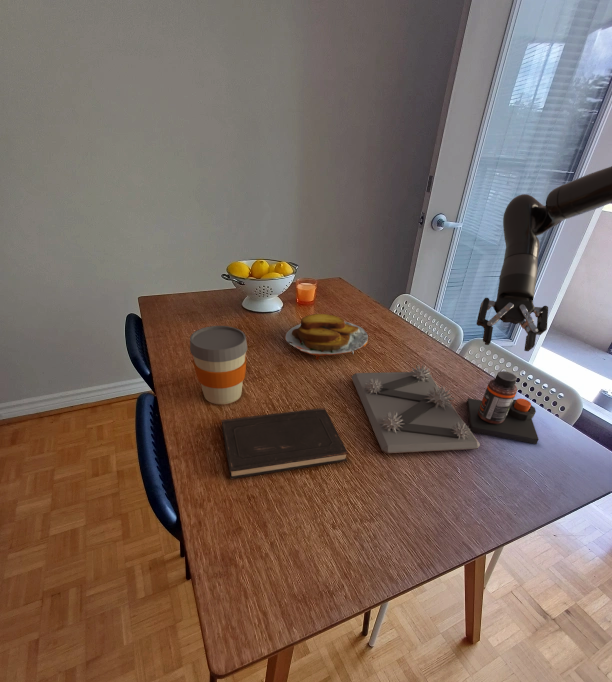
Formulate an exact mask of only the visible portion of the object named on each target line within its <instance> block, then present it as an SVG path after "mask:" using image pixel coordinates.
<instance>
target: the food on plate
mask: <svg viewBox="0 0 612 682" xmlns="http://www.w3.org/2000/svg"><path fill="white" fill-rule="evenodd" d="M369 337H370V335H368V332H367V331H366V330H365V328H363V327H361V326H359V325H358V324H355V323H352V322H348V321H345V319H344V318H342V317H339V316H337V315H334V314H328V313H314V314H309V315H305V316H303V317H302V318H301V319H300V323H299V324H296V325H294V326H292V327H291V328H289V330H288V331H287V332H286V333H285V334H284V340H285V342H287V343H288V344H289V345H291V346H293V347H294V348H295V349H297V350H299V351H300V352H301V353H306V354H307V355H308V354H309V356H311V355H312V356H315V360H317V361H319V359H320V357H321V356H322V357H325V356H335V355H338V356H339V355H340V354H341V355H344V354H348V353H352V355H354V352H355V351H357V350H360V349H362V348H363V347H366V346H367V345H368V341H369V340H370V339H369ZM291 352H292V353H293V352H294V351H293V350H291Z"/></svg>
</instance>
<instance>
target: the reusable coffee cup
mask: <svg viewBox="0 0 612 682" xmlns="http://www.w3.org/2000/svg"><path fill="white" fill-rule="evenodd" d="M189 351H190V354H191V355H192V358H193V359H192V365H193V368H194V371H195V375H196V378H197V381H198V383H199V384H200V387H201V389H202V394H203V398H204V399H205V401H208V402H209V403H211V404H215V405H228V404H232V403H235V402H236V401H238V400H239V399H240V398H241V397H242V393H243V383H244V380H245V378H246V371H247V359H248V358H247V356H246V353H247V351H248V342H247V335H246V333H245V332H244V331H242V330H241V329H240V328H237V327H233V326H228V325H211V326H205V327H202V328H199V329H197V330H195V331H193V332H192V333H191V335H190V337H189Z"/></svg>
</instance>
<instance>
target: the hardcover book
mask: <svg viewBox="0 0 612 682" xmlns="http://www.w3.org/2000/svg"><path fill="white" fill-rule="evenodd" d="M220 421H221V429H222V430H221V431H222V436H223V443H224V449H225V453H226V454H225V455H226V461H227V467H228V472H229V478H230V480H233V479H235V480H236V479H241V478H249V477H254V476H255V477H256V476H260V475H261V476H262V475H266V474H267V475H268V474H273V473H281V472H287V471H294V470H299V469H305V468H306V469H307V468H313V467H318V466H325V465H332V464H338V463H339V464H340V463H344V462H348V460H347V458H346V457H347V455H349V452H348V450H347V448H346V446H345V445H344V443H343V440H342V439H341V436H340V435H339V433H338V431H337V429H336V427H335V425H334V423H333V421H332V420H331V418H330V416H329V413H328V412H327V410H326V408H325V407H318V408H317V407H316V408H310V409H309V408H308V409H301V410H293V411H285V412H277V413H268V414H267V413H266V414H259V415H251V416H242V417H235V418H226V419H221V420H220Z"/></svg>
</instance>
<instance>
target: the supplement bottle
mask: <svg viewBox="0 0 612 682" xmlns="http://www.w3.org/2000/svg"><path fill="white" fill-rule="evenodd" d="M517 380H518V377H517V376H516V375H515V374H514V373H512V372H510V371H505V370H502V371H501V370H500V371H498V372H497V374H496V376H495V378H493V379H491V380H490V381H488V383H487V386H486V389H485V392H484V394H483V397H482V402H481V404H480V407H479V410H478V415H479V417H480V418H481V419H482V420H484V421H486V422H488V423H491V424H500V423H502V422H503V421H504V420H505V418H506V416H507V413H508V411H509V409H510V407H511V404H512V402H513V400H515V397H516V395H517V393H518V387H517V385H516V384H517Z"/></svg>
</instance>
